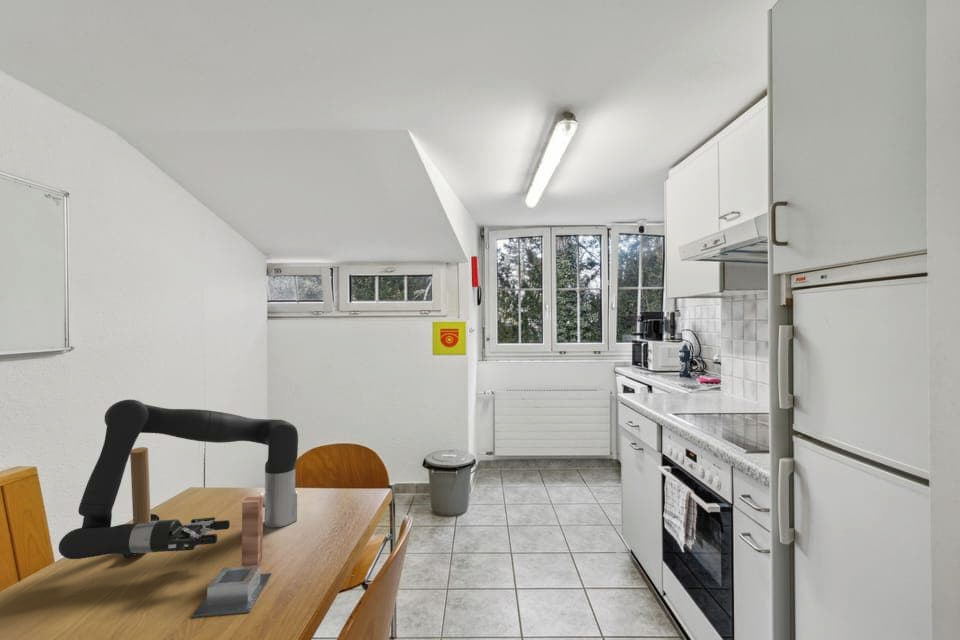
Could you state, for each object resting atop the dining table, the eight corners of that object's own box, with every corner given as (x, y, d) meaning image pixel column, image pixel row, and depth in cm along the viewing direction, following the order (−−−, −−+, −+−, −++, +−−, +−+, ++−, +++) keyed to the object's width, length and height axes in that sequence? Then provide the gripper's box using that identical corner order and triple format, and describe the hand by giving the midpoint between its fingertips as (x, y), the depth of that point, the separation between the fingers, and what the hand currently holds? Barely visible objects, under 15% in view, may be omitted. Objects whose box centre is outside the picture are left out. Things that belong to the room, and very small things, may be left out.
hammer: (144, 565, 128) (140, 464, 123) (121, 569, 126) (117, 467, 121) (160, 524, 146) (157, 435, 141) (141, 527, 144) (137, 437, 139)
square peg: (246, 563, 124) (247, 497, 125) (262, 562, 125) (262, 496, 125) (241, 571, 120) (242, 502, 121) (257, 570, 121) (258, 501, 121)
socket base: (222, 580, 117) (222, 561, 117) (271, 577, 119) (271, 557, 119) (191, 620, 101) (192, 597, 101) (249, 615, 103) (249, 592, 103)
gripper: (140, 533, 112) (212, 528, 115) (169, 511, 126) (233, 506, 129) (140, 564, 112) (212, 558, 115) (169, 538, 126) (232, 533, 129)
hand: (223, 531), depth 122 cm, fingers open, 8 cm apart
